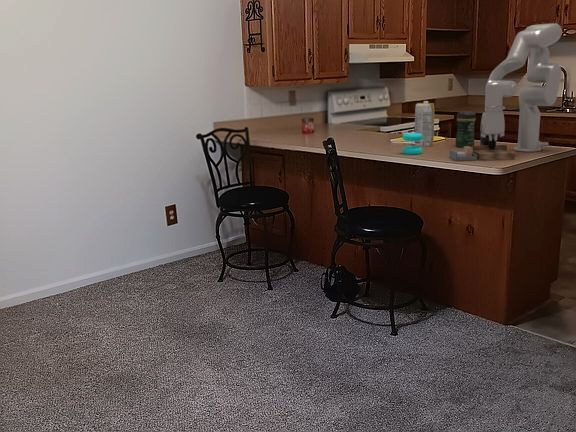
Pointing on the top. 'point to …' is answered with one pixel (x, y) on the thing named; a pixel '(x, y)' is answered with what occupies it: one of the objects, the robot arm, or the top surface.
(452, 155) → the box
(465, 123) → the coffee jar
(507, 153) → the board
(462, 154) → the tile
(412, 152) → the donuts
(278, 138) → the top surface
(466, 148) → the tile
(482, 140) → the supplement bottle
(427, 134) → the juice carton
